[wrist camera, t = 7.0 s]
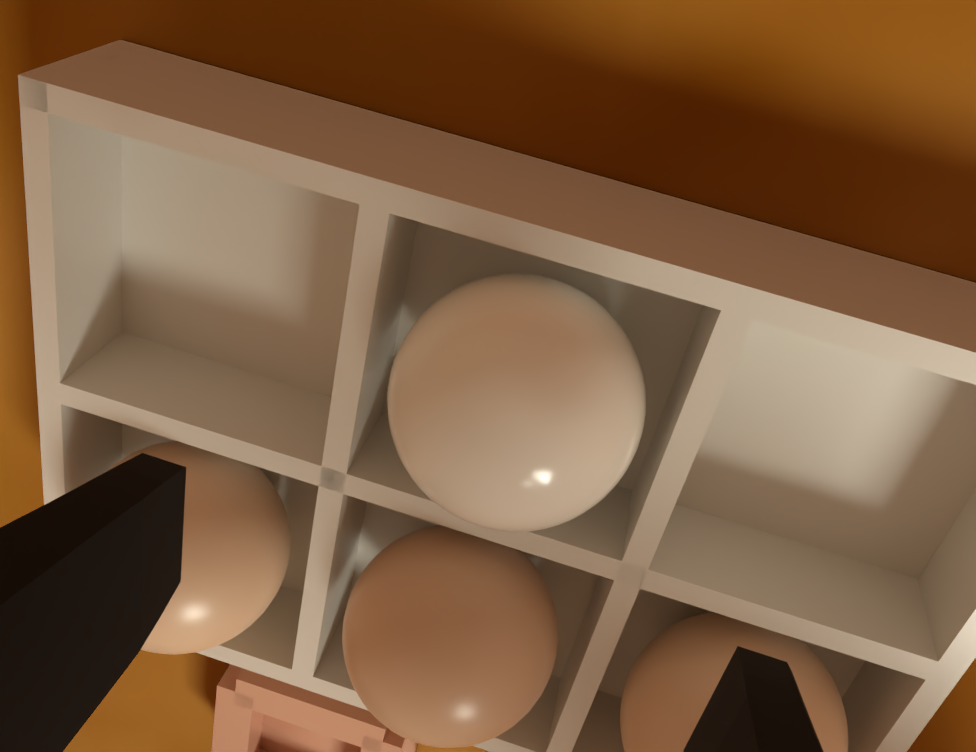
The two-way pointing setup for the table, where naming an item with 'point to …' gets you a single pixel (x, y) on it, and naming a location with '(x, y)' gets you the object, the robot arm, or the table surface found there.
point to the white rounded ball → (516, 402)
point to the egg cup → (292, 719)
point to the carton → (393, 493)
